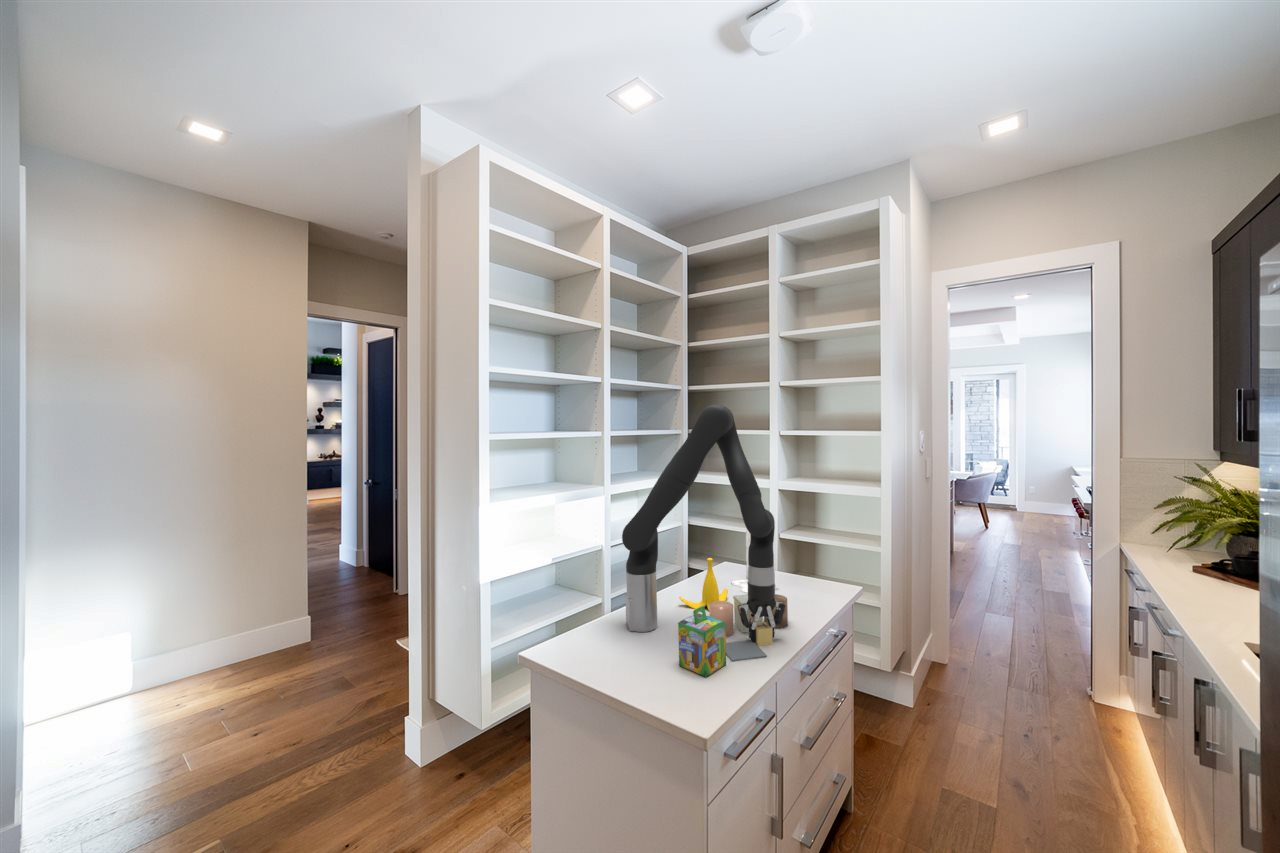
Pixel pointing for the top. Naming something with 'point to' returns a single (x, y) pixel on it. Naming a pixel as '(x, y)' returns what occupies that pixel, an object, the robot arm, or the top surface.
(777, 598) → the canister
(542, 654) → the top surface
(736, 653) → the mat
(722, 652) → the chalk box
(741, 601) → the pale green square canister
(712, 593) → the banana peel
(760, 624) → the letter cube
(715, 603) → the canister
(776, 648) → the top surface
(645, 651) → the top surface
